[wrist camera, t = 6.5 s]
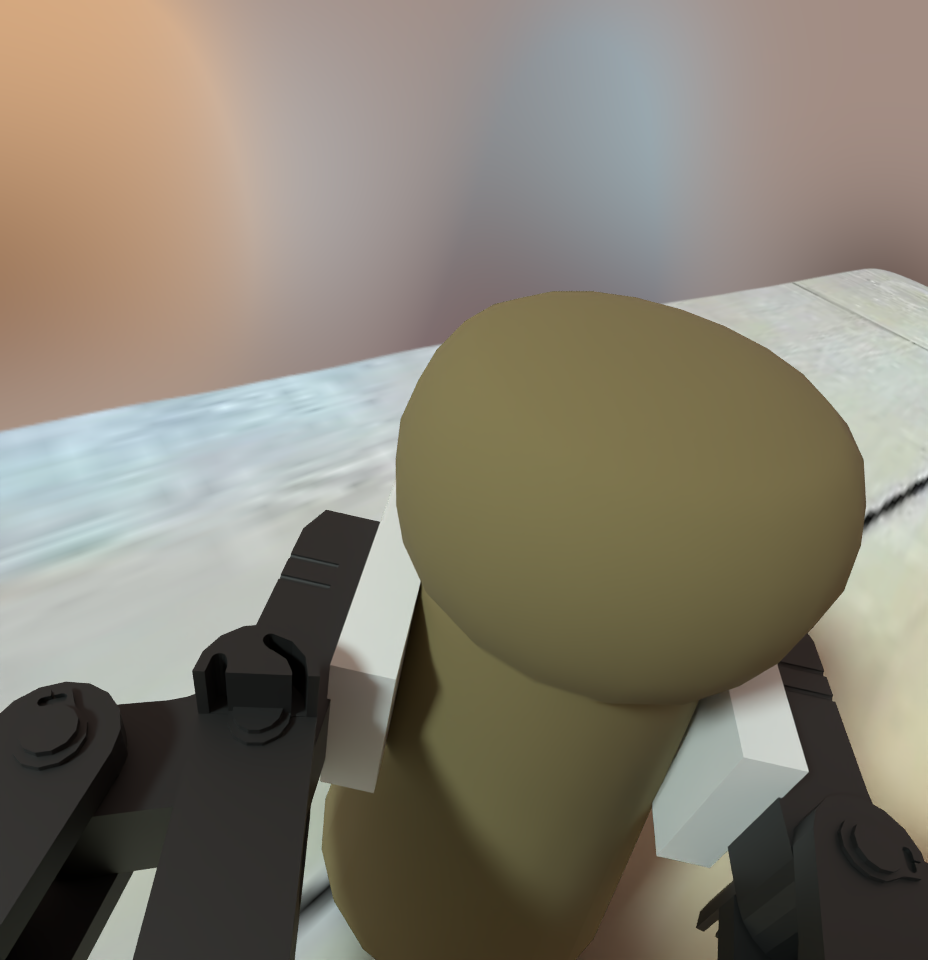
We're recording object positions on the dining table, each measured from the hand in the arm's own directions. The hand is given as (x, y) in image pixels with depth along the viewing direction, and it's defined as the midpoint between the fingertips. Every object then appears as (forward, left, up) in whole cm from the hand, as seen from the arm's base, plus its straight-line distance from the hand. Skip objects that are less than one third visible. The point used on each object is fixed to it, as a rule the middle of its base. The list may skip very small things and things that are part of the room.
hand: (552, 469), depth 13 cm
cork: (-3, +3, -6) cm, 8 cm away
